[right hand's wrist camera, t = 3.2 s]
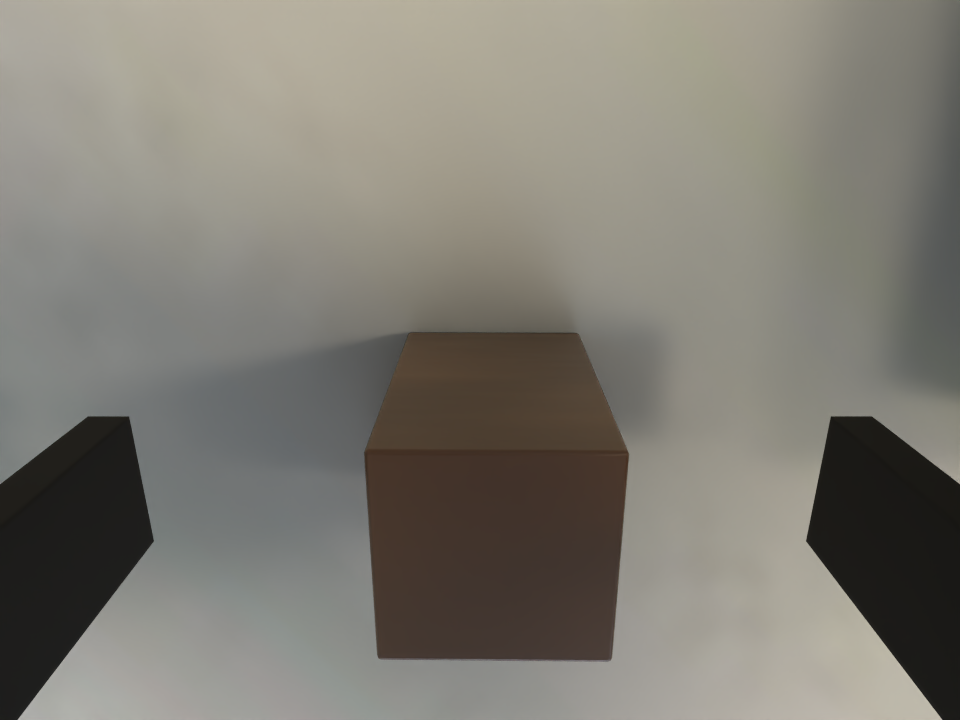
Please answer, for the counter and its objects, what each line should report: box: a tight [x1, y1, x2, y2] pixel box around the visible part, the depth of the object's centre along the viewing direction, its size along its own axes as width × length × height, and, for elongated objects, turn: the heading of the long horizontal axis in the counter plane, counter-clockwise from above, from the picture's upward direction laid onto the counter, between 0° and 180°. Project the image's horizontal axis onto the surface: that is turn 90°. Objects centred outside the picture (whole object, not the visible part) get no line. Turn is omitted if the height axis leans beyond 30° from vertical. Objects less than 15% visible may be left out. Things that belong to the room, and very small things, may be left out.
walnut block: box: [364, 333, 629, 661], centre depth 14 cm, size 4×4×6 cm
